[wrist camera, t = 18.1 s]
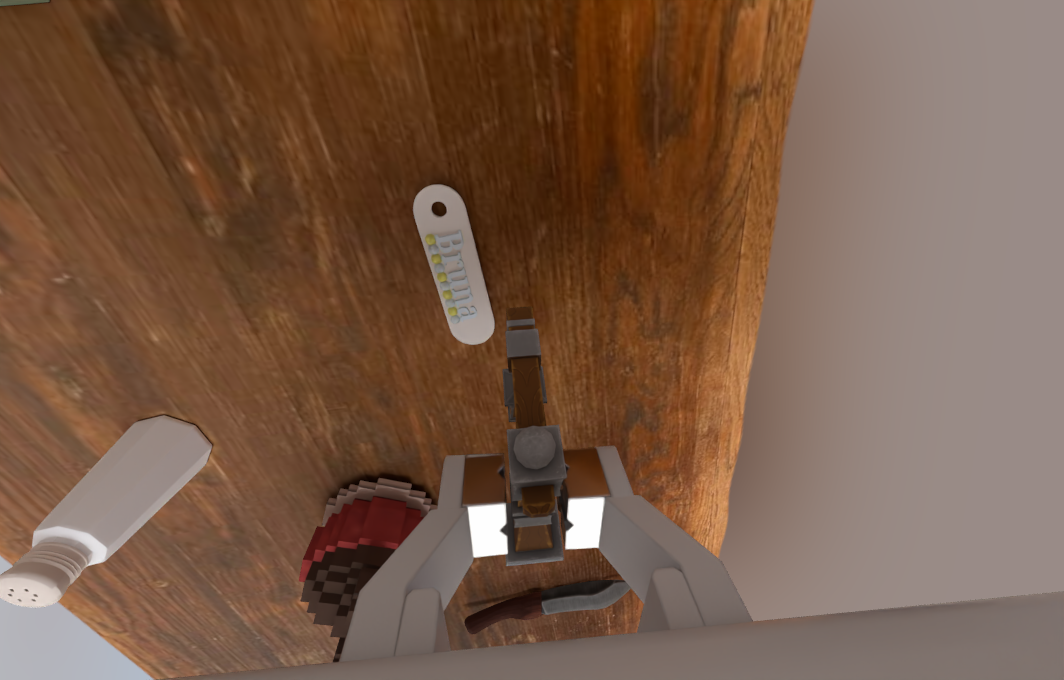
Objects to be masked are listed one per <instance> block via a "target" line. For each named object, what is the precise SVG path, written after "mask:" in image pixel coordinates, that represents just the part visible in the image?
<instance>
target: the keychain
mask: <svg viewBox="0 0 1064 680" xmlns="http://www.w3.org/2000/svg"><path fill="white" fill-rule="evenodd" d="M434 202H442V203H444V205H445V206H446V208H447V212H446V214H445V215H444V216H436V215H435V214H434V213H433V211H432V204H433V203H434ZM413 212H414V218H415V221H416V224H417V227H418V230H419V234H420V237H421V240H422V243H423V246H424V249H425V252H426V255H427V258H428V262H429V265H430V268H431V271H432V274H433V277H434V280H435V283H436V287H437V290H438V293H439V296H440V299H441V302H442V305H443V308H444V311H445V315H446V318H447V321H448V324H449V327H450V330H451V332H452V334H453V336H454V337H455V338H457V339H458V340H459V341H461V342H463V343H466V344H470V345H473V344H480V343H483V342H485V341H486V340H487V339H489V338H490V336H491V335H492V334H493V331H494V327H495V324H494V316H493V312H492V309H491V305H490V301H489V297H488V293H487V289H486V285H485V281H484V277H483V273H482V269H481V265H480V262H479V258H478V254H477V250H476V246H475V242H474V238H473V234H472V230H471V226H470V222H469V219H468V215H467V211H466V207H465V204H464V202H463V199H462V198H461V196H460V195H459V194H458V193H457V191H455V190H454V189H452V188H451V187H449V186H446V185H442V184H432V185H430V186H427V187H425V188H424V189H423V190H422V191H420V192H419V193H418V195H417V197H416V199H415V200H414V206H413Z"/></svg>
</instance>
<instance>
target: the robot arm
mask: <svg viewBox="0 0 1064 680" xmlns="http://www.w3.org/2000/svg"><path fill="white" fill-rule="evenodd" d="M563 455H564V461H565V468H566V474H567V478H566V479H564V480H563V481H562V485H561V488H560V494H561V496H556V497H557V504H558V510H559V511H560V512H561V529H562V534H563V540H564V545H565V549H583V548H599V550H600V551H601V553H602V554H603V555H604V556H605V557H606V559H607V560H608V561H609V562H610V563H611V565H612V566H613V567H614V568H615V569H616V571H617V572H618V573H619V574H620V575H621V577H622V578H623V579H624V580H625V581H626V583H627V584H628V585H629V586H630V587H631V589H632V590H633V591H634V592H635V593H636V594H637V596H638V597H639V598H640V599H641V600H642V602H643V603H644V607H643V611H642V615H641V619H640V623H639V627H638V631H637V633H630V634H620V635H610V636H599V637H589V638H579V639H568V640H558V641H548V642H538V643H528V644H518V645H507V646H497V647H487V648H477V649H466V650H456V651H451V649H450V643H449V638H448V633H447V628H446V622H445V617H444V610H445V608H446V606H447V605H448V603H449V601H450V600H451V598H452V596H453V594H454V593H455V591H456V589H457V588H458V586H459V584H460V582H461V581H462V579H463V577H464V576H465V574H466V572H467V570H468V569H469V567H470V565H471V564H472V562H473V558H476V557H485V556H494V555H503V554H508V536H507V505H506V480H505V458H504V453H496V454H468V455H452V456H446V458H445V460H444V465H443V472H442V479H441V486H440V493H439V500H438V507H437V509H435V510H431V511H430V512H429V513H428V514H427V515H426V516H425V517H424V519H423V520H422V521H421V522H420V523H419V524H418V525H417V527H416V528H415V529H414V530H413V531H412V532H411V533H410V535H409V536H408V537H407V538H406V539H405V540H404V541H403V543H402V544H401V545H400V546H399V547H398V548H397V549H396V551H395V552H394V553H393V554H392V555H391V556H390V557H389V558H388V560H387V561H386V562H385V563H384V564H383V565H382V566H381V568H380V569H379V570H378V571H377V572H376V573H375V574H374V576H373V577H372V578H371V579H370V580H369V581H368V582H367V584H366V585H365V586H364V587H363V588H362V589H361V590H360V592H359V595H358V599H357V602H356V606H355V609H354V613H353V616H352V620H351V623H350V627H349V630H348V634H347V637H346V641H345V644H344V647H343V651H342V654H341V658H340V661H339V662H333V663H323V664H312V665H302V666H292V667H281V668H271V669H261V670H251V671H240V672H230V673H220V674H209V675H199V676H188V677H178V678H167V679H157V680H1064V592H1052V593H1042V594H1032V595H1021V596H1011V597H1001V598H992V599H981V600H970V601H960V602H950V603H940V604H930V605H919V606H909V607H898V608H889V609H878V610H868V611H858V612H847V613H837V614H827V615H816V616H806V617H797V618H786V619H775V620H765V621H754V622H753V620H752V619H751V616H750V615H749V613H748V611H747V609H746V607H745V605H744V603H743V601H742V599H741V597H740V595H739V593H738V591H737V589H736V587H735V586H734V584H733V582H732V580H731V578H730V576H729V574H728V572H727V570H726V568H725V566H724V564H723V562H722V561H721V560H720V559H718V558H717V557H716V556H715V555H713V554H712V553H711V552H710V551H708V550H707V549H706V548H705V547H703V546H702V545H701V544H700V543H698V542H697V541H696V540H695V539H694V538H692V537H691V536H690V535H689V534H687V533H686V532H685V531H684V530H682V529H681V528H680V527H679V526H677V525H676V524H675V523H674V522H672V521H671V520H670V519H669V518H667V517H666V516H665V515H664V514H663V513H661V512H660V511H659V510H658V509H656V508H655V507H654V506H653V505H651V504H650V503H649V502H648V501H646V500H645V499H644V498H643V497H641V496H640V495H634V494H633V491H632V489H631V486H630V484H629V481H628V478H627V476H626V473H625V470H624V468H623V465H622V463H621V460H620V457H619V455H618V452H617V449H616V448H615V447H614V446H601V447H595V448H594V447H588V448H574V449H563Z"/></svg>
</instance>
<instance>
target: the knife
mask: <svg viewBox="0 0 1064 680" xmlns="http://www.w3.org/2000/svg"><path fill="white" fill-rule="evenodd" d="M630 588H631V587H630V586H629V585H628V584H627V583H626V581H624V580H598V581H589V582H582V583H576V584H570V585H565V586H560V587H556V588H552V589H548V590H544V591H540V592H533V593H531V594H527V595H524V596H519V597H515V598H512V599H509V600H506V601H503V602H501V603H498V604H496V605H493V606H491V607H489V608H486V609H484V610H482V611H479V612H477V613H475V614H473V615H470V616H468V617H467V618H466V619H465V626H466V628H467V630H468V632H469V633H471V634H476V633H477V632H479V631H481V630H482V629H484V628H486V627H488V626H489V625H491V624H493V623H496V622H498V621H501V620H503V619H508V618H515V619H522V620H529V619H534V618H538V617H539V616H541V615H543V614H545V615H548V614H552V613H558V612H565V611H576V610H591V609H602V608H605V607H607V606H609V605H611V604H613V603H615V602H616V601H617V600H618V599H620V598H621V597H622V596H623V595H624V594H625V593H627V592H628V591H629V589H630Z"/></svg>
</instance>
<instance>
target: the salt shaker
mask: <svg viewBox="0 0 1064 680" xmlns="http://www.w3.org/2000/svg"><path fill="white" fill-rule="evenodd" d="M211 449H212V444H211V443H210V442H209V441H208V440H207V438H206V437H205V436H204V435H203V434H202V433H201V431H200V430H199V429H198V428H197V427H196V425H193V424H190V423H187V422H184V421H181V420H177V419H174V418H171V417H168V416H165V415H163V416H159V417H154V418H150V419H146V420H142V421H138V422H135V423H134V424H133V425H132V426H131V427H130V428H129V429H128V430H127V431H126V433H125V434H124V435H123V436H122V437H121V438H120V439H119V440H118V441H117V442H116V443H115V444H114V445H113V446H112V447H111V449H110V450H109V451H108V452H107V453H106V454H105V455H104V456H103V457H102V458H101V459H100V460H99V461H98V462H97V464H96V465H95V466H94V467H93V468H92V469H91V470H90V471H89V472H88V473H87V474H86V475H85V476H84V477H83V478H82V480H81V481H80V482H79V483H78V484H77V485H76V486H75V487H74V488H73V489H72V490H71V491H70V492H69V493H68V495H67V496H66V497H65V498H64V499H63V500H62V501H61V502H60V503H59V504H58V505H57V506H56V507H55V508H54V509H53V511H52V512H51V513H50V514H49V515H48V516H47V517H46V518H45V519H44V520H43V522H42V523H41V524H40V525H39V526H38V527H37V529H36V530H35V531H34V534H33V543H32V547H33V548H32V549H31V550H30V552H29V553H27V554H25V555H23V556H22V558H20V559H19V560H18V561H17V562H15V564H14V565H13V567H12V568H10V569H9V570H7V571H6V572H4V573H2V574H1V575H0V598H2V599H3V600H5V601H7V602H10V603H12V604H15V605H18V606H25V607H44V606H49V605H51V604H54V603H55V602H58V601H59V600H60V598H61V597H62V596H63V595H64V593H65V591H66V590H67V588H68V586H69V585H71V584H72V583H73V582H74V581H75V580H76V579H77V577H78V576H79V575H80V574H81V571H82V570H84V569H85V568H86V567H87V566H89V565H93V564H97V563H102V562H105V561H106V560H107V559H108V558H109V557H110V556H111V555H112V554H114V553H115V552H116V551H117V550H118V549H119V548H120V547H121V546H122V545H123V544H124V543H125V542H126V541H127V540H128V539H129V538H130V537H131V536H132V535H133V534H134V533H136V532H137V531H138V530H139V529H140V528H141V527H142V526H143V525H144V524H145V523H146V522H147V521H148V520H149V519H150V518H151V517H152V516H153V515H154V514H155V513H156V512H157V511H158V510H159V509H160V508H161V507H162V506H163V505H164V504H166V503H167V502H168V501H169V500H170V499H171V498H172V497H173V496H174V495H175V494H176V493H177V492H178V491H179V490H180V489H181V488H182V487H183V486H184V485H185V484H186V483H187V482H188V481H189V480H190V479H191V478H192V477H193V476H194V475H196V474H197V473H198V472H199V471H200V470H201V469H202V468H203V467H204V466H205V465H206V463H207V460H208V457H209V454H210V452H211Z"/></svg>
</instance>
